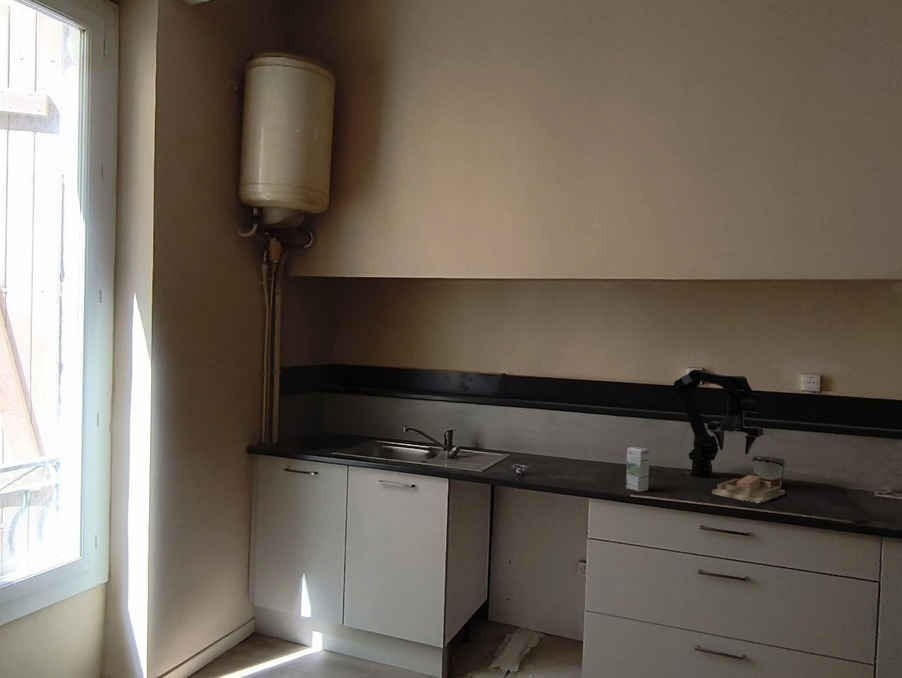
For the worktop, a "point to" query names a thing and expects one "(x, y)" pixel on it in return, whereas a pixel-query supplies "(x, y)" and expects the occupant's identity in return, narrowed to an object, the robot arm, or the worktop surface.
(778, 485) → the food container
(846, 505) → the worktop surface
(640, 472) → the syrup box
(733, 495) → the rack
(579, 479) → the worktop surface
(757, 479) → the pinkish brown block
